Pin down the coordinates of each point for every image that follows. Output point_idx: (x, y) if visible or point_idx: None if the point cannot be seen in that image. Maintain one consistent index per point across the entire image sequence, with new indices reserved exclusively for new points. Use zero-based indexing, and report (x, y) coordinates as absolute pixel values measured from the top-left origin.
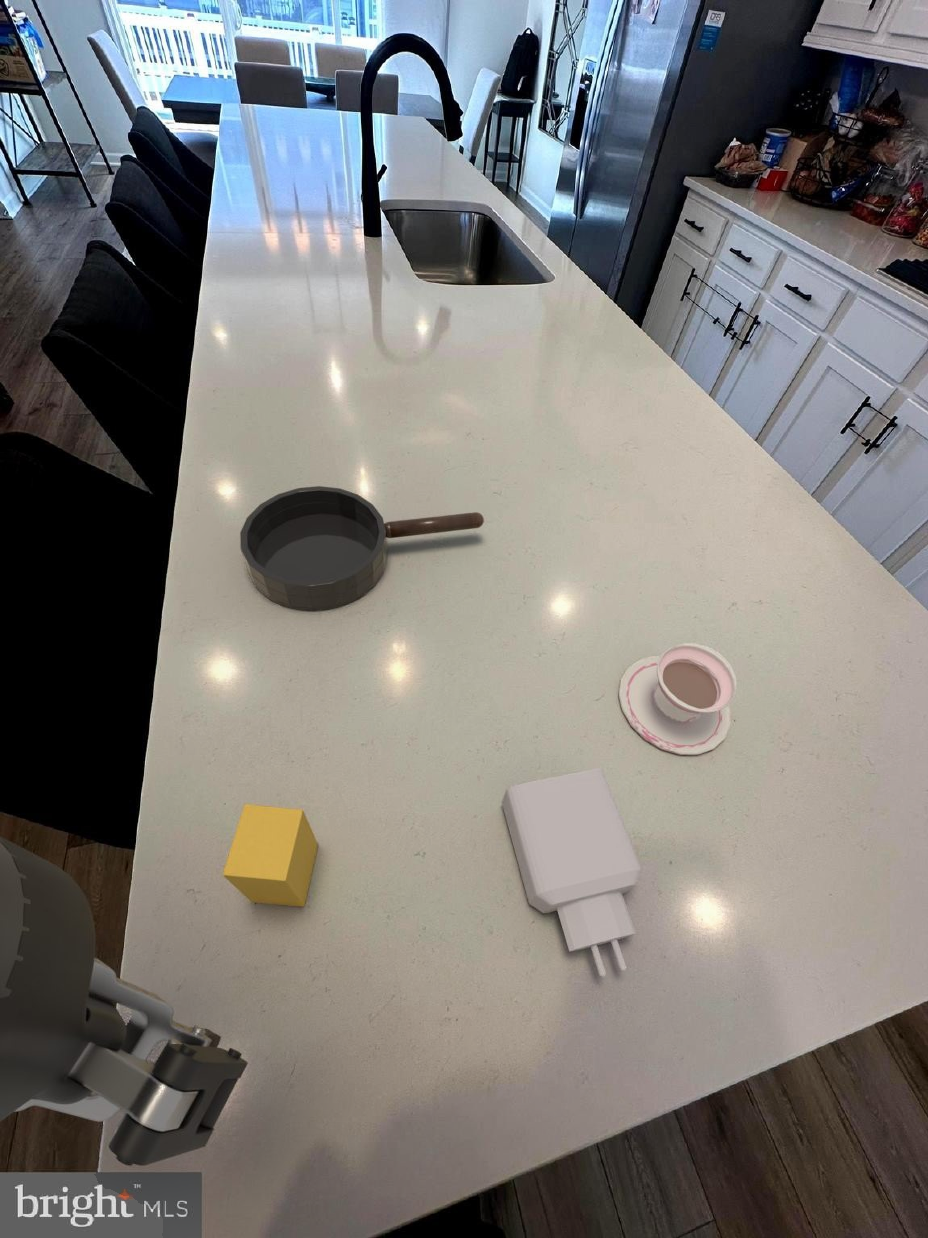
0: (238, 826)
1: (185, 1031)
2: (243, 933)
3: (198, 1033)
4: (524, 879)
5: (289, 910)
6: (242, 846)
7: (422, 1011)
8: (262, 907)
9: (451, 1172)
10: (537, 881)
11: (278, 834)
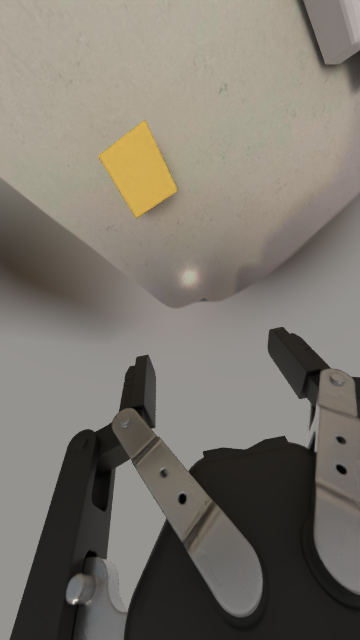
0: (112, 178)
1: (355, 403)
2: (152, 226)
3: (343, 382)
4: (324, 38)
5: None
6: (129, 190)
7: (264, 194)
8: None
9: (297, 242)
10: (358, 23)
11: (145, 160)
